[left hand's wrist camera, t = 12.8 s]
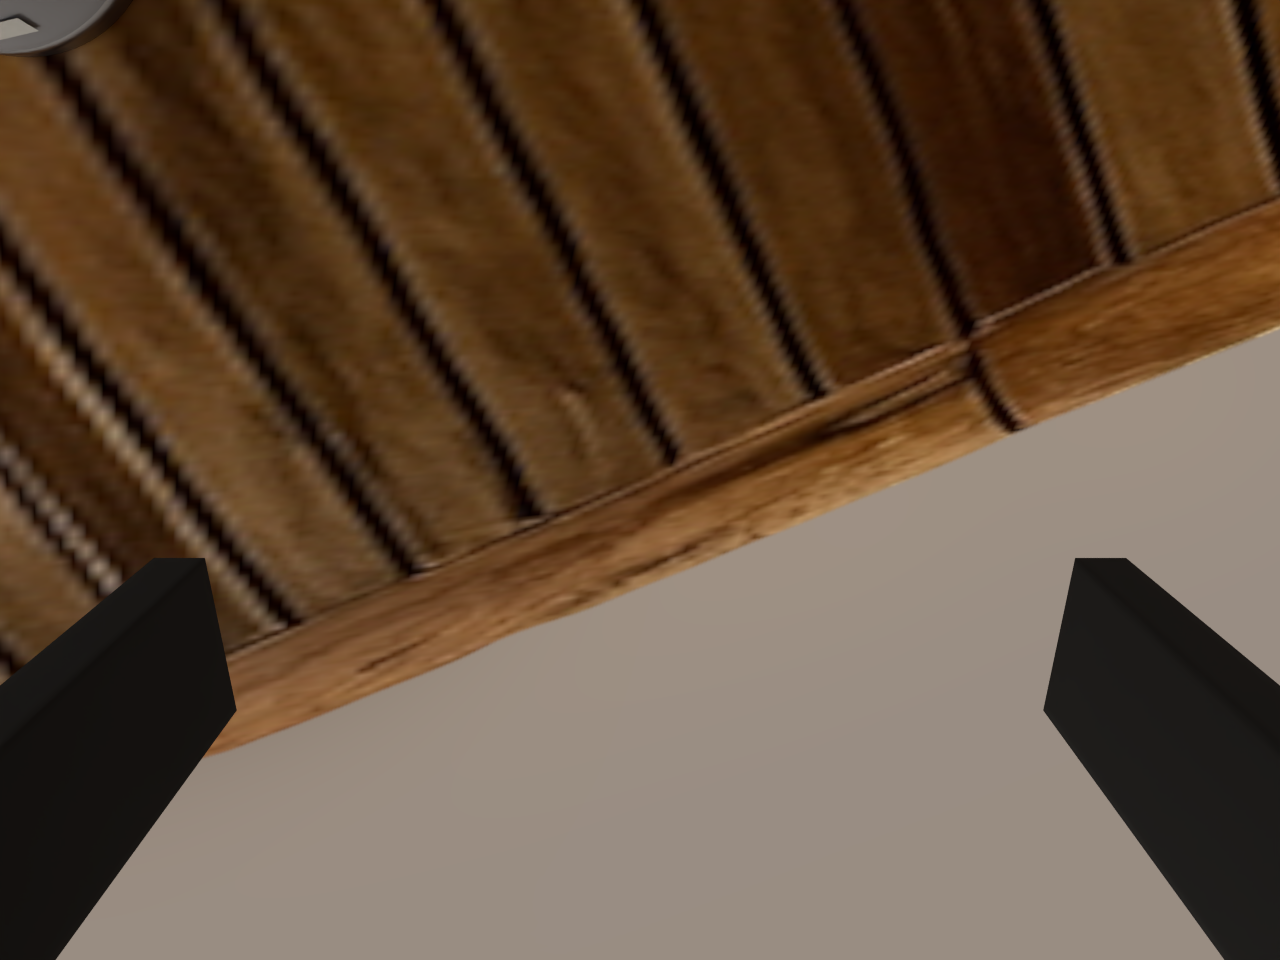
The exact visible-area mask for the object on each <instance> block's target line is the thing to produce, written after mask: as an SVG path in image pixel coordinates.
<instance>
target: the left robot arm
mask: <svg viewBox="0 0 1280 960" xmlns="http://www.w3.org/2000/svg"><path fill="white" fill-rule="evenodd" d="M132 1H133V0H0V55H8V56H16V57H38V56H48V55H53V54H58V53H62V52H65V51H68V50H71V49H74V48H77V47H79V46H81V45H83V44H85V43H87V42H89V41H91V40H93V39H94V38H96V37H97V36H99V35H100V34H102V33H103V32H104V31H106V30H107V29H108V28H109V27H110V26H111V25H113V24H114V23H115V22H116V21H117V19H118V18H119V17H120V16H121V15H122V14H123V13H124V12H125V10H126V9H127V8H128V6H129V5H130V3H131V2H132ZM236 711H237V710H236V705H235V700H234V695H233V691H232V686H231V681H230V676H229V672H228V667H227V662H226V657H225V652H224V648H223V643H222V638H221V633H220V629H219V624H218V619H217V614H216V609H215V605H214V600H213V595H212V590H211V586H210V581H209V576H208V571H207V567H206V562H205V558H153V559H152V560H151V561H150V562H149V563H147V564H146V565H145V566H144V567H143V568H141V569H140V570H139V571H138V572H137V573H135V574H134V575H133V576H132V577H131V578H129V579H128V580H127V581H126V582H125V583H123V584H122V585H121V586H120V587H119V588H117V589H116V590H115V591H114V592H113V593H111V594H110V595H109V596H108V597H106V598H105V599H104V600H103V601H102V602H100V603H99V604H98V605H97V606H96V607H94V608H93V609H92V610H91V611H90V612H88V613H87V614H86V615H85V616H84V617H82V618H81V619H80V620H79V621H78V622H76V623H75V624H74V625H73V626H72V627H70V628H69V629H68V630H67V631H66V632H64V633H63V634H62V635H61V636H59V637H58V638H57V639H56V640H55V641H53V642H52V643H51V644H50V645H49V646H47V647H46V648H45V649H44V650H43V651H41V652H40V653H39V654H38V655H37V656H35V657H34V658H33V659H32V660H31V661H29V662H28V663H27V664H26V665H25V666H23V667H22V668H21V669H20V670H18V671H17V672H16V673H15V674H14V675H12V676H11V677H10V678H9V679H8V680H6V681H5V682H4V683H3V684H2V685H0V960H56V958H57V957H58V956H59V954H60V953H61V952H62V950H63V949H64V947H65V946H66V945H67V943H68V942H69V941H70V939H71V938H72V936H73V935H74V934H75V932H76V931H77V930H78V928H79V927H80V925H81V924H82V923H83V921H84V920H85V918H86V917H87V916H88V914H89V913H90V912H91V910H92V909H93V907H94V906H95V905H96V903H97V902H98V901H99V899H100V898H101V896H102V895H103V894H104V892H105V891H106V890H107V888H108V887H109V885H110V884H111V883H112V881H113V880H114V879H115V877H116V876H117V874H118V873H119V872H120V870H121V869H122V868H123V866H124V865H125V863H126V862H127V861H128V859H129V858H130V857H131V855H132V854H133V852H134V851H135V850H136V848H137V847H138V846H139V844H140V843H141V841H142V840H143V839H144V837H145V836H146V834H147V833H148V832H149V830H150V829H151V828H152V826H153V825H154V823H155V822H156V821H157V819H158V818H159V817H160V815H161V814H162V812H163V811H164V810H165V808H166V807H167V806H168V804H169V803H170V801H171V800H172V799H173V797H174V796H175V795H176V793H177V792H178V790H179V789H180V788H181V786H182V785H183V784H184V782H185V781H186V779H187V778H188V777H189V775H190V774H191V773H192V771H193V770H194V768H195V767H196V766H197V764H198V763H199V761H200V760H201V759H202V757H203V756H204V755H205V753H206V752H207V750H208V749H209V748H210V746H211V745H212V744H213V742H214V741H215V739H216V738H217V737H218V735H219V734H220V733H221V731H222V730H223V728H224V727H225V726H226V724H227V723H228V722H229V720H230V719H231V717H232V716H233V715H234V713H235V712H236ZM1044 712H1045V713H1046V715H1047V716H1048V717H1049V719H1050V720H1051V722H1052V723H1053V724H1054V726H1055V727H1056V728H1057V730H1058V731H1059V733H1060V734H1061V735H1062V737H1063V738H1064V739H1065V741H1066V742H1067V744H1068V745H1069V746H1070V748H1071V749H1072V750H1073V752H1074V753H1075V755H1076V756H1077V757H1078V759H1079V760H1080V762H1081V763H1082V764H1083V766H1084V767H1085V768H1086V770H1087V771H1088V772H1089V774H1090V775H1091V777H1092V778H1093V779H1094V781H1095V782H1096V784H1097V785H1098V786H1099V788H1100V789H1101V790H1102V792H1103V793H1104V795H1105V796H1106V797H1107V799H1108V800H1109V801H1110V803H1111V804H1112V806H1113V807H1114V808H1115V810H1116V811H1117V812H1118V814H1119V815H1120V817H1121V818H1122V819H1123V821H1124V822H1125V823H1126V825H1127V826H1128V828H1129V829H1130V830H1131V832H1132V833H1133V834H1134V836H1135V837H1136V839H1137V840H1138V841H1139V843H1140V844H1141V845H1142V847H1143V848H1144V850H1145V851H1146V852H1147V854H1148V855H1149V857H1150V858H1151V859H1152V861H1153V862H1154V863H1155V865H1156V866H1157V868H1158V869H1159V870H1160V872H1161V873H1162V874H1163V876H1164V877H1165V879H1166V880H1167V881H1168V883H1169V884H1170V885H1171V887H1172V888H1173V890H1174V891H1175V892H1176V894H1177V895H1178V896H1179V898H1180V899H1181V901H1182V902H1183V903H1184V905H1185V906H1186V907H1187V909H1188V910H1189V912H1190V913H1191V914H1192V916H1193V917H1194V918H1195V920H1196V921H1197V923H1198V924H1199V925H1200V927H1201V928H1202V930H1203V931H1204V932H1205V934H1206V935H1207V936H1208V938H1209V939H1210V941H1211V942H1212V943H1213V945H1214V946H1215V947H1216V949H1217V950H1218V952H1219V953H1220V954H1221V956H1222V957H1223V958H1224V960H1280V685H1278V684H1277V683H1276V682H1275V681H1274V680H1272V679H1271V678H1270V677H1269V676H1268V675H1266V674H1265V673H1264V672H1263V671H1261V670H1260V669H1259V668H1258V667H1257V666H1255V665H1254V664H1253V663H1252V662H1251V661H1249V660H1248V659H1247V658H1246V657H1245V656H1243V655H1242V654H1241V653H1240V652H1239V651H1237V650H1236V649H1235V648H1234V647H1233V646H1231V645H1230V644H1229V643H1228V642H1227V641H1225V640H1224V639H1223V638H1222V637H1220V636H1219V635H1218V634H1217V633H1216V632H1214V631H1213V630H1212V629H1211V628H1210V627H1208V626H1207V625H1206V624H1205V623H1204V622H1202V621H1201V620H1200V619H1199V618H1198V617H1196V616H1195V615H1194V614H1193V613H1192V612H1190V611H1189V610H1188V609H1187V608H1186V607H1184V606H1183V605H1182V604H1181V603H1180V602H1178V601H1177V600H1176V599H1175V598H1174V597H1172V596H1171V595H1170V594H1169V593H1167V592H1166V591H1165V590H1164V589H1163V588H1161V587H1160V586H1159V585H1158V584H1157V583H1155V582H1154V581H1153V580H1152V579H1151V578H1149V577H1148V576H1147V575H1146V574H1144V573H1143V572H1142V571H1141V570H1140V569H1139V568H1137V567H1136V566H1135V565H1134V564H1132V563H1131V562H1130V561H1129V560H1128V559H1127V558H1075V562H1074V567H1073V571H1072V576H1071V581H1070V586H1069V590H1068V595H1067V600H1066V605H1065V610H1064V614H1063V619H1062V624H1061V629H1060V633H1059V638H1058V643H1057V648H1056V652H1055V657H1054V662H1053V667H1052V672H1051V676H1050V681H1049V686H1048V691H1047V695H1046V700H1045V705H1044Z"/></svg>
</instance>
